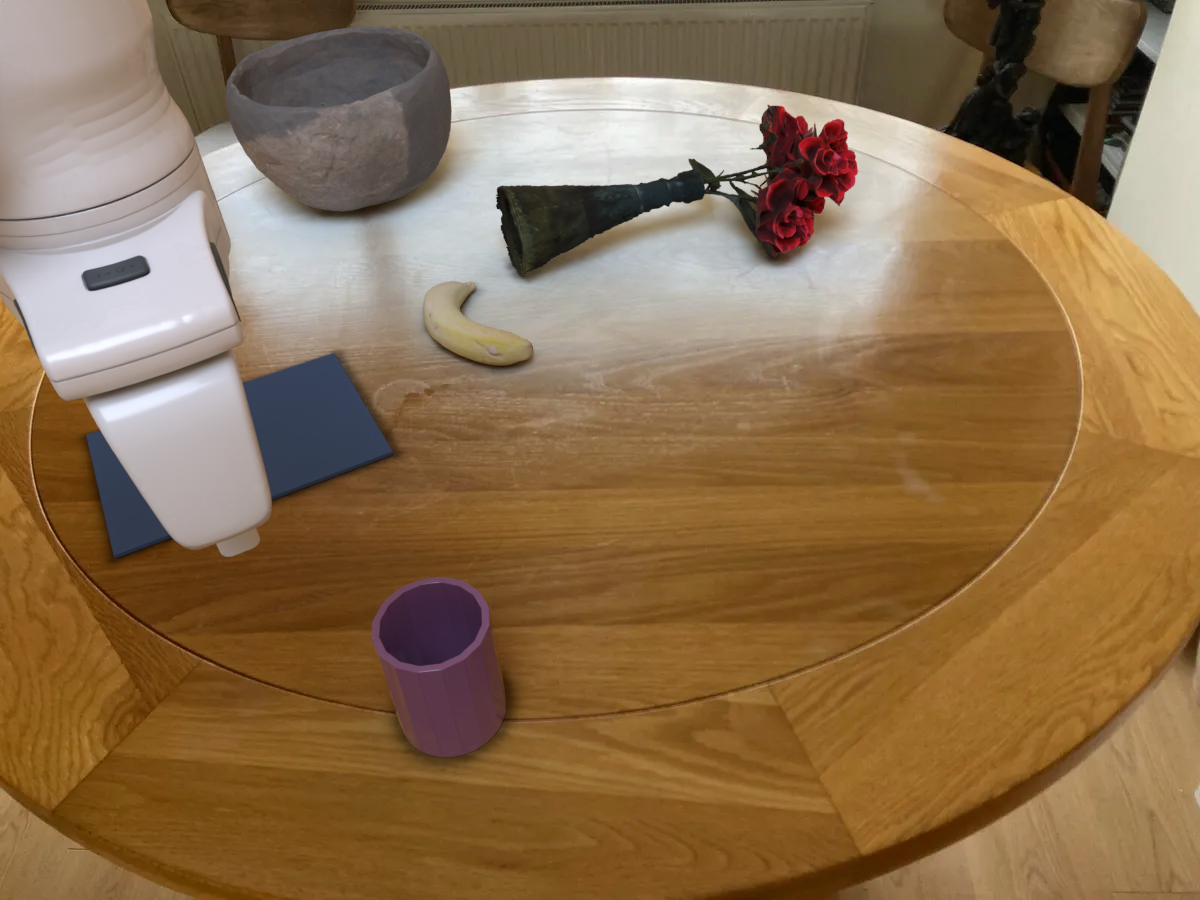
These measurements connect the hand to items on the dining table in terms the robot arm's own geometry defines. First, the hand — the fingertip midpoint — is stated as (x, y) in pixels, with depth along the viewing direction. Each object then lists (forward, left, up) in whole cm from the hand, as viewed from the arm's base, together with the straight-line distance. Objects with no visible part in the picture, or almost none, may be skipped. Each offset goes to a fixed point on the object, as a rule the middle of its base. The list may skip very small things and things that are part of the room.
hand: (216, 481), depth 47 cm
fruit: (+26, +33, -21) cm, 47 cm away
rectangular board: (+2, +29, -21) cm, 36 cm away
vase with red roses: (+50, +36, -21) cm, 65 cm away
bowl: (+26, +68, -21) cm, 75 cm away
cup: (+8, -4, -21) cm, 22 cm away
